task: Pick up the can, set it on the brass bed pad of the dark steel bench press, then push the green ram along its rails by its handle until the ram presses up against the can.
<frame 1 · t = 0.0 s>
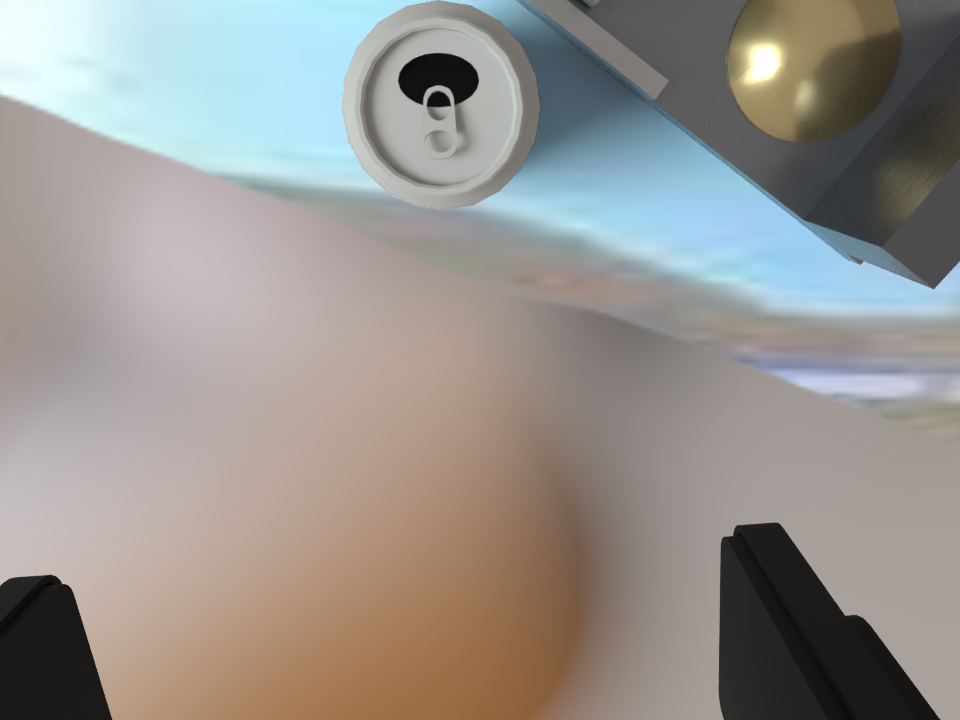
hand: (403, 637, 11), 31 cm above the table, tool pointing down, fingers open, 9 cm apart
can: (453, 109, 38), on the table
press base: (738, 5, 36), on the table
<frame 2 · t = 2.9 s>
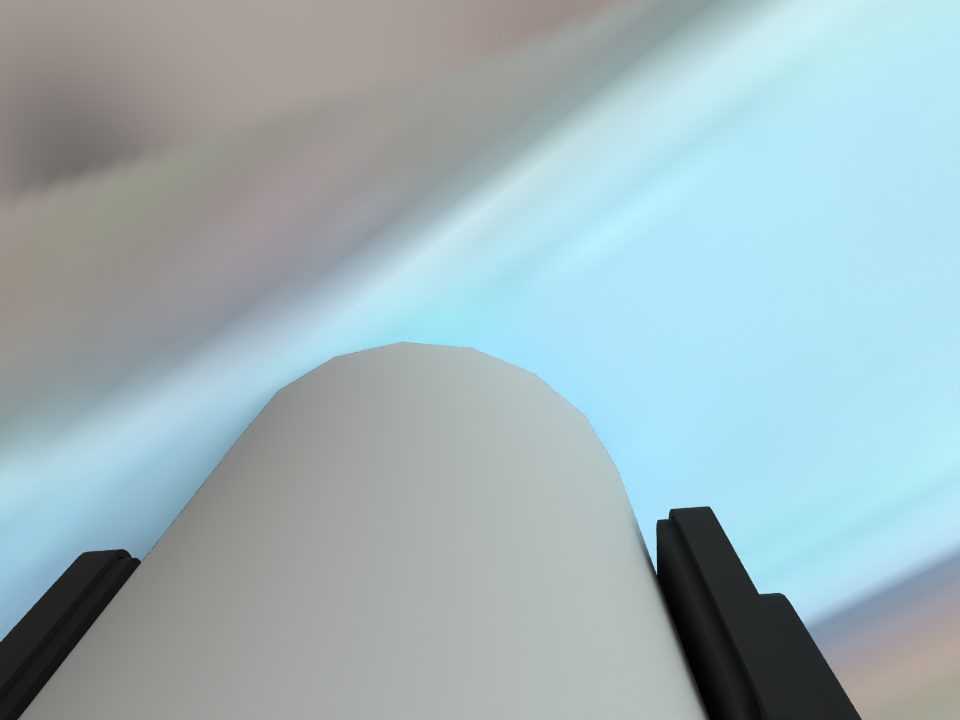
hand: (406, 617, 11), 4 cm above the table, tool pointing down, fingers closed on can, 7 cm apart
can: (427, 508, 15), on the table, touching gripper
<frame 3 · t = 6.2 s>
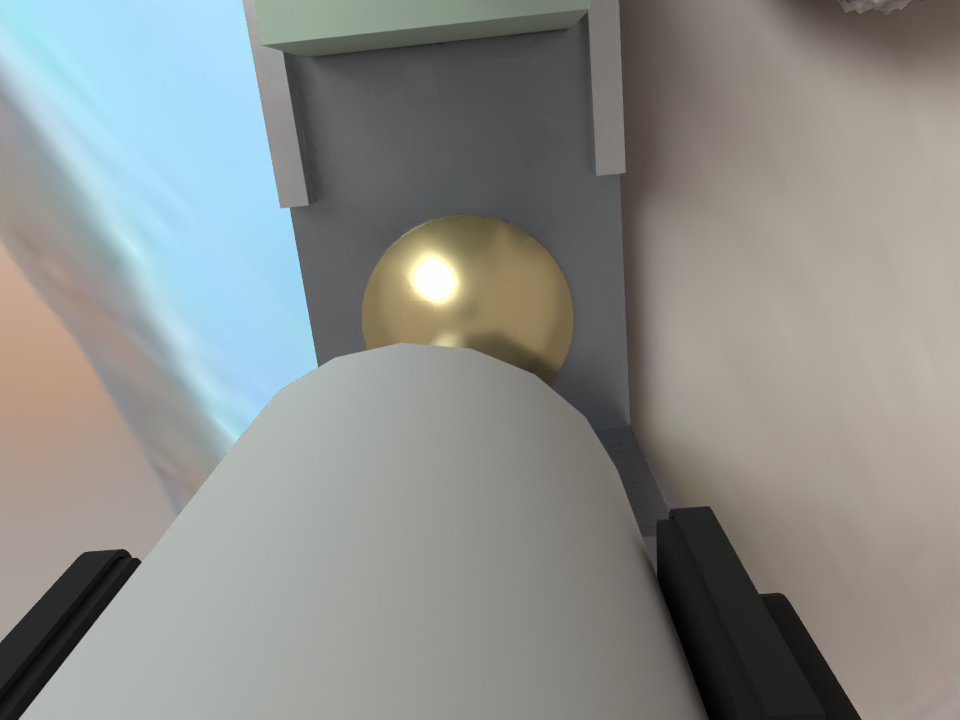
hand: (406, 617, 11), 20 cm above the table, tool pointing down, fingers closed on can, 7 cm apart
can: (427, 509, 15), point 16 cm above the table, touching gripper
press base: (457, 210, 29), on the table
when the fingers open (7 cm above the table, at t = 9.4 s): can drops 1 cm, resting on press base.
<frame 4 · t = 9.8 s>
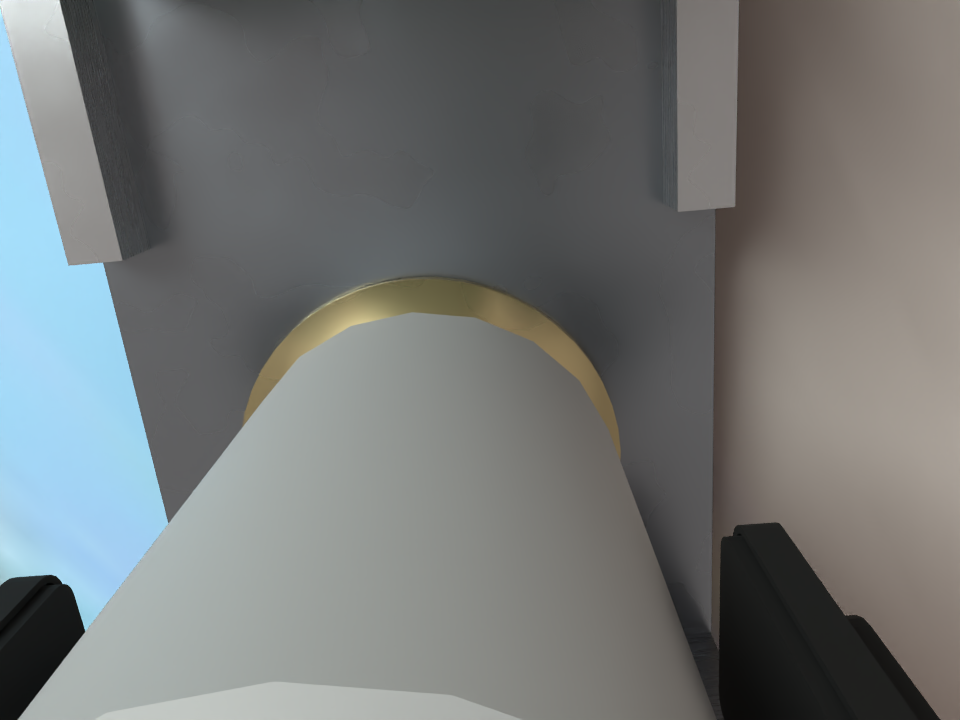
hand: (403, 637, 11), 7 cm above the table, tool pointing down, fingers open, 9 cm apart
can: (434, 468, 16), point 2 cm above the table, touching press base
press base: (416, 262, 16), on the table
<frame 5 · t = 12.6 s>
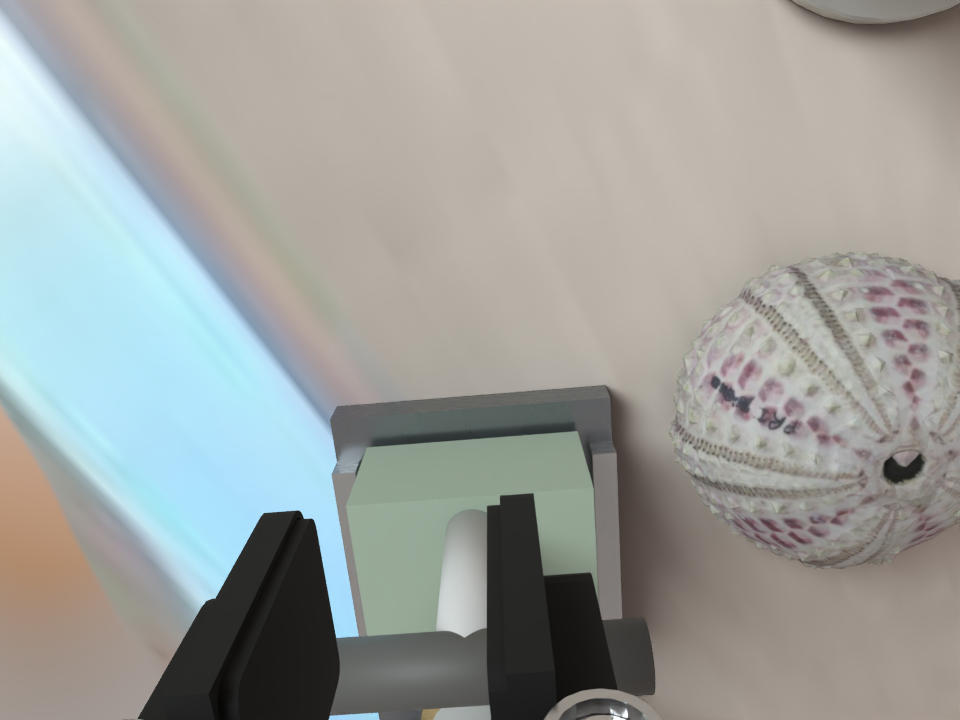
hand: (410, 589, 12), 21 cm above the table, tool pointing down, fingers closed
ram: (475, 592, 27), point 9 cm above the table, slide at 0.0 cm
sea urchin shell: (806, 387, 34), on the table
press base: (494, 637, 38), on the table
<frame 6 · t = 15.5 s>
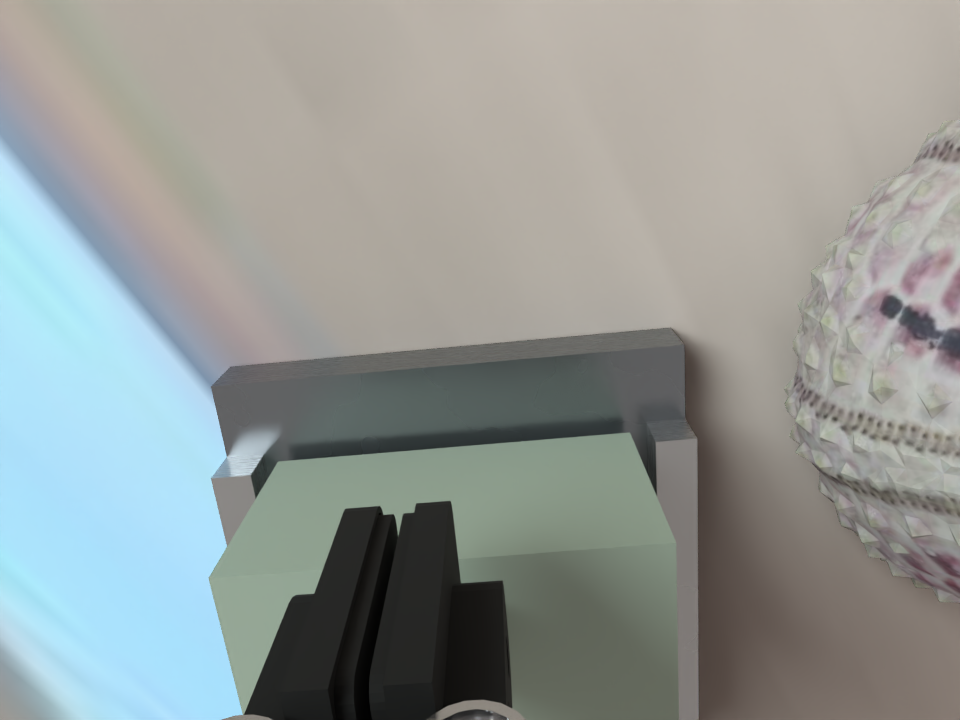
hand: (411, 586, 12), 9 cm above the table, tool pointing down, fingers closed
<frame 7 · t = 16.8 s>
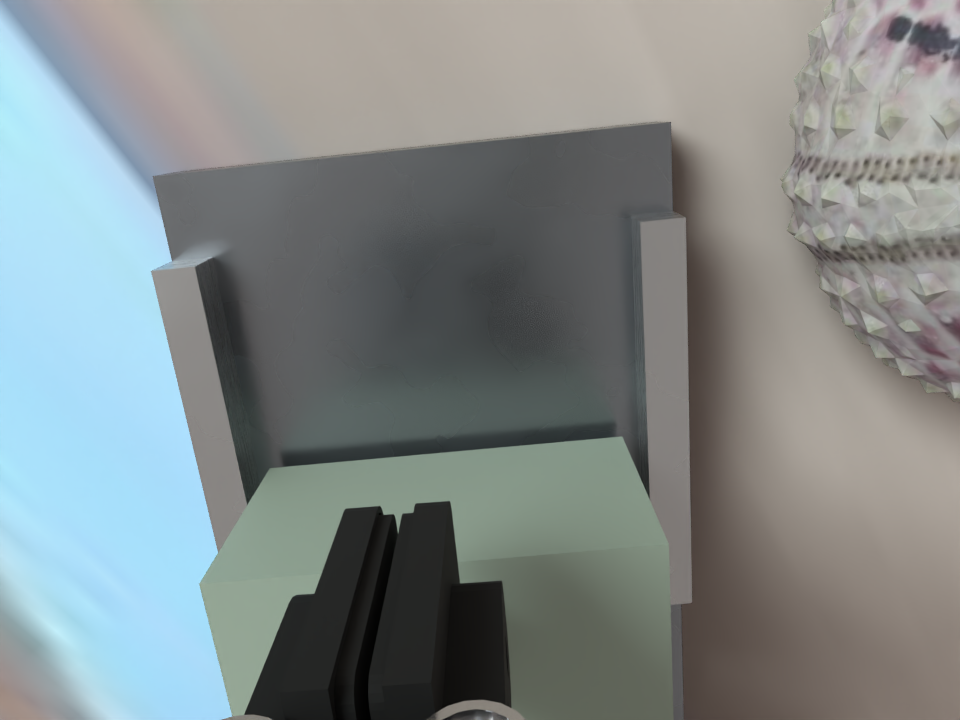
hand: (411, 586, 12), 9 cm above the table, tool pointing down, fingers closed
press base: (469, 592, 23), on the table
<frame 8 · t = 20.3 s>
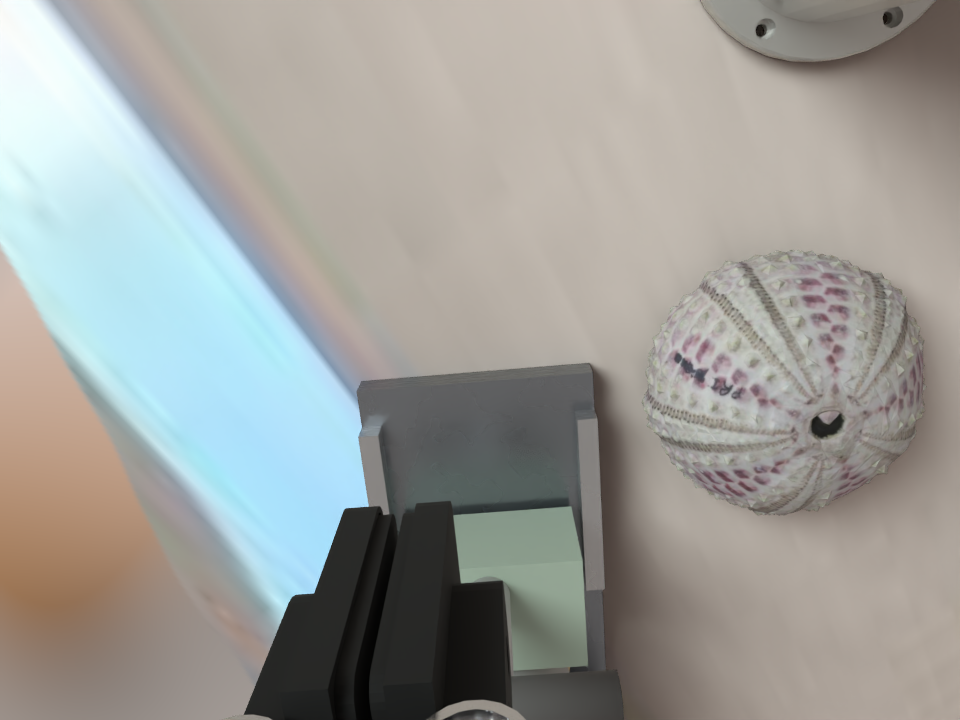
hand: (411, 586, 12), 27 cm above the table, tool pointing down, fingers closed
ram: (491, 642, 35), point 9 cm above the table, slide at 6.0 cm
sea urchin shell: (759, 364, 40), on the table
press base: (494, 582, 44), on the table
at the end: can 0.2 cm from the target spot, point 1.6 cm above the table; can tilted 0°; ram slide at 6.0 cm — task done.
